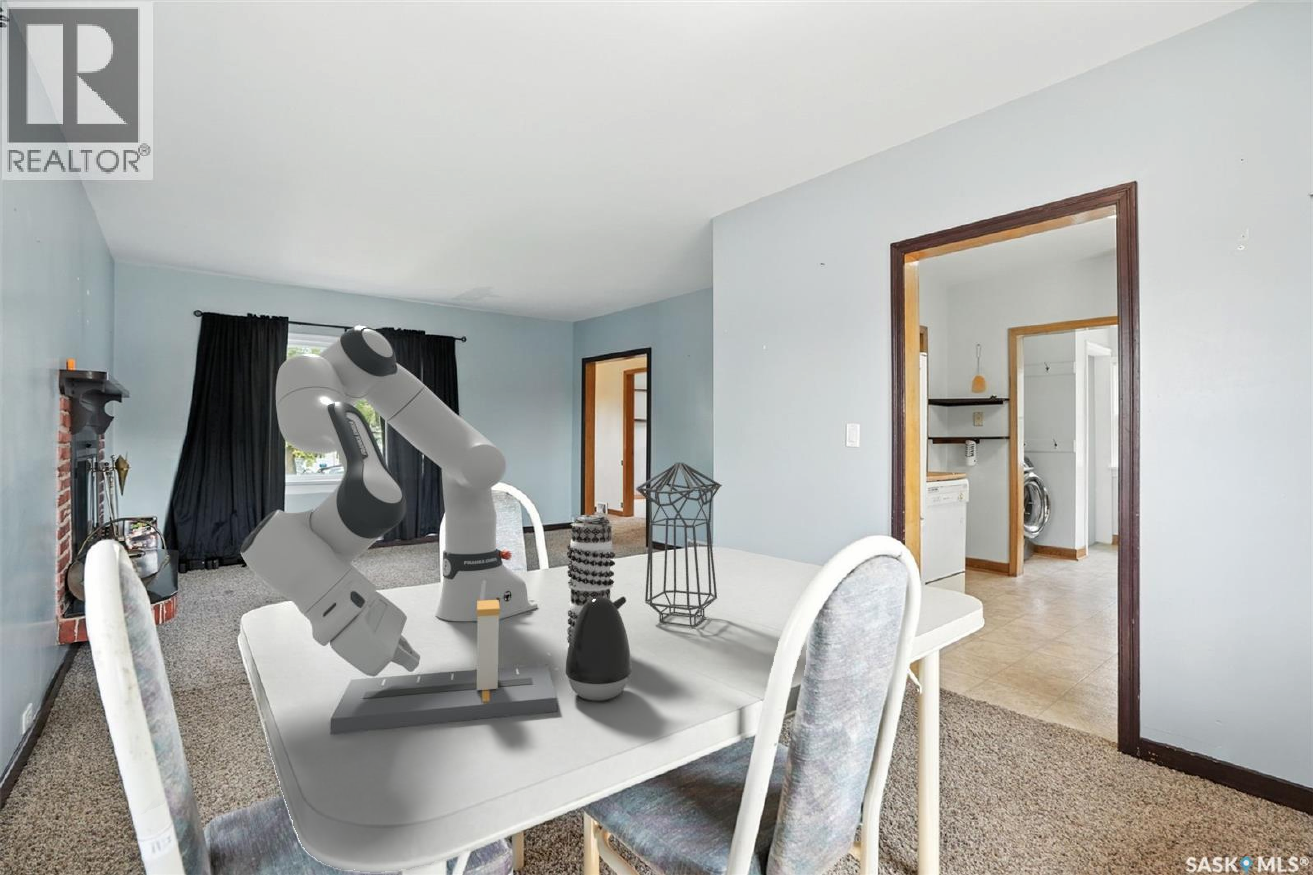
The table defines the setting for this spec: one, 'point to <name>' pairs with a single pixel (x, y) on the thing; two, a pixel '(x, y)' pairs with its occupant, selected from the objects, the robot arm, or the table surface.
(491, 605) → the fader tab
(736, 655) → the table surface
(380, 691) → the console board
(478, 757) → the table surface
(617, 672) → the pump dispenser
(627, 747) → the table surface
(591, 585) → the decorative candle
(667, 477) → the geometric lantern
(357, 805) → the table surface
